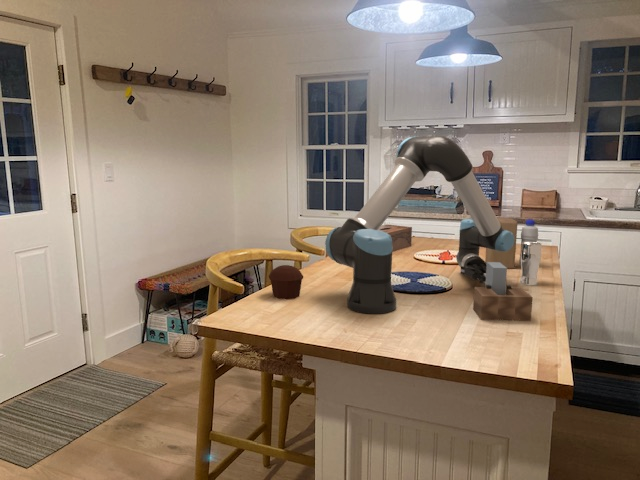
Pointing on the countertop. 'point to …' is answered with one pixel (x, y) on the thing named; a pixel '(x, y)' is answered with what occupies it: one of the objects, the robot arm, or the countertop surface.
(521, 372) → the countertop surface
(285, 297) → the muffin
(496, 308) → the socket block
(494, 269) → the peg
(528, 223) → the bottle
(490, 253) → the wooden block
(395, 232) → the tissue box cover
